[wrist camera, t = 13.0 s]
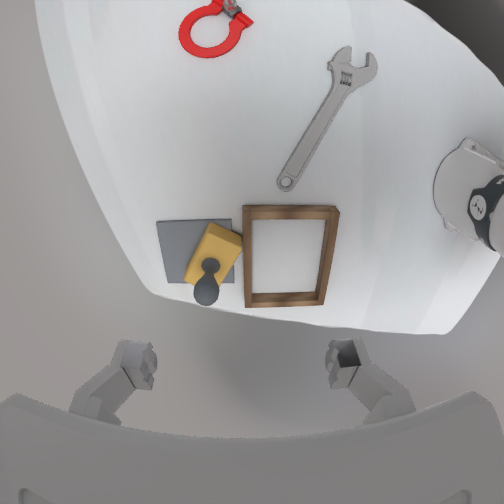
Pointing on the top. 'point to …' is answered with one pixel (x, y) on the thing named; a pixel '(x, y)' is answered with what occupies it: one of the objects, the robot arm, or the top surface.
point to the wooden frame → (329, 240)
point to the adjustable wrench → (328, 110)
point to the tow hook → (225, 3)
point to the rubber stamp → (212, 262)
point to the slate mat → (184, 245)
